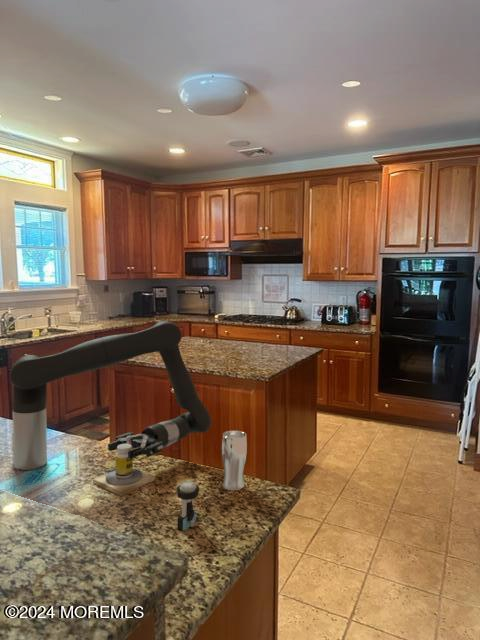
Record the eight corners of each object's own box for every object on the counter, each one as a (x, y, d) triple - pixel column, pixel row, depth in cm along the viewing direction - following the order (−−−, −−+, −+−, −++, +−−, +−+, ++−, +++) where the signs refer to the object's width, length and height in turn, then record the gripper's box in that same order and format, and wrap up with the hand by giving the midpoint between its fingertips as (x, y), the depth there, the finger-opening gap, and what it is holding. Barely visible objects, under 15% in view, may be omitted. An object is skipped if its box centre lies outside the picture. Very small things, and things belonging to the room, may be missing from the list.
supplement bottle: (128, 479, 122) (128, 450, 121) (112, 477, 123) (112, 448, 122) (135, 472, 127) (135, 443, 126) (120, 470, 128) (120, 442, 127)
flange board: (92, 482, 123) (92, 476, 123) (126, 468, 133) (126, 462, 133) (121, 495, 116) (121, 488, 116) (154, 479, 126) (154, 473, 126)
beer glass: (249, 483, 126) (251, 432, 124) (239, 494, 119) (240, 440, 118) (227, 478, 128) (229, 428, 127) (216, 488, 122) (217, 436, 121)
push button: (187, 514, 108) (188, 475, 107) (206, 520, 106) (206, 480, 105) (171, 527, 102) (171, 486, 102) (190, 534, 100) (191, 492, 99)
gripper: (144, 418, 139) (102, 432, 126) (178, 428, 131) (136, 444, 118) (144, 441, 140) (102, 457, 127) (177, 452, 132) (136, 471, 119)
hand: (118, 451), depth 122 cm, fingers open, 8 cm apart
